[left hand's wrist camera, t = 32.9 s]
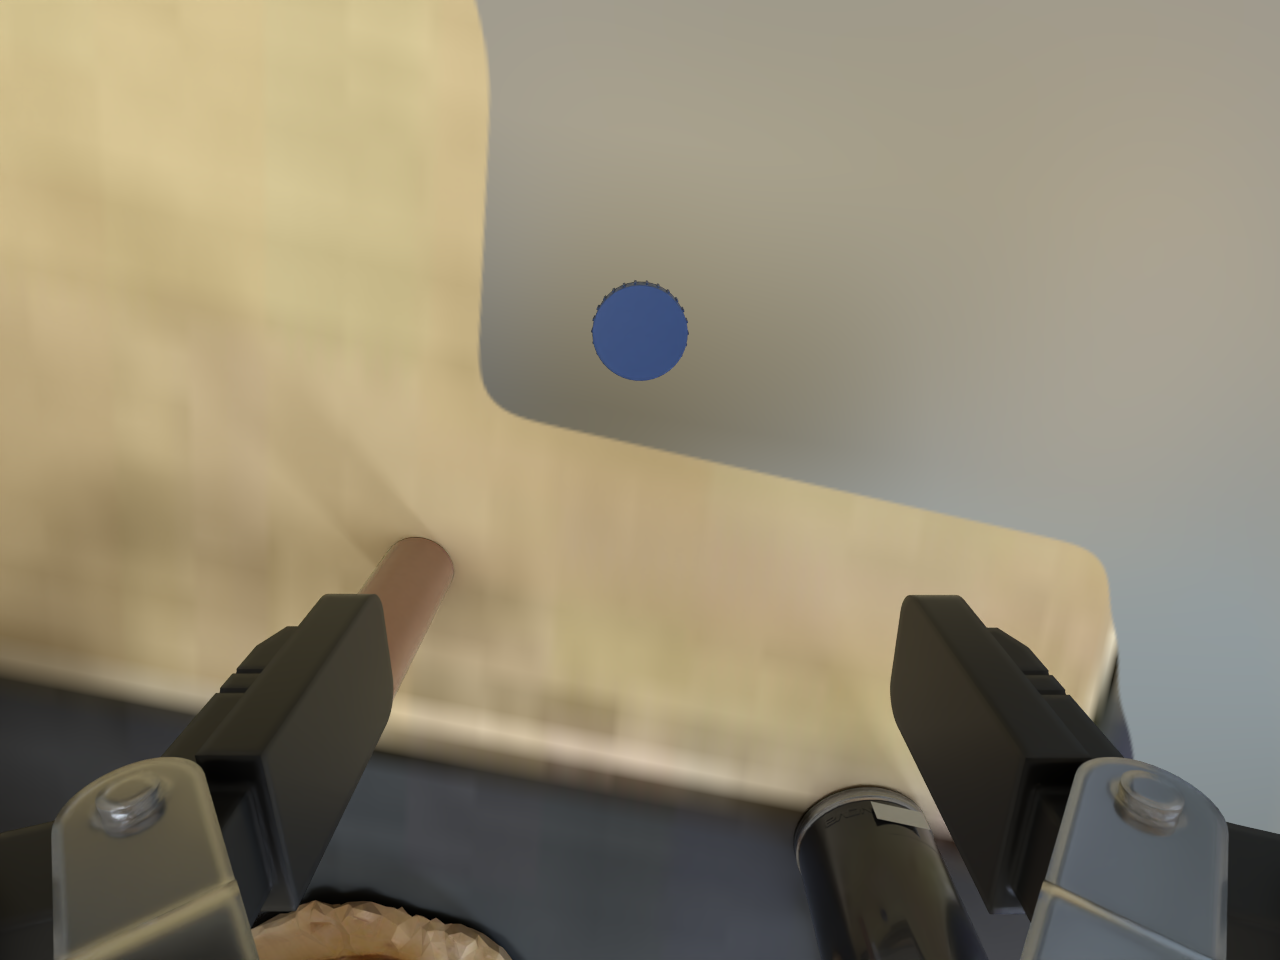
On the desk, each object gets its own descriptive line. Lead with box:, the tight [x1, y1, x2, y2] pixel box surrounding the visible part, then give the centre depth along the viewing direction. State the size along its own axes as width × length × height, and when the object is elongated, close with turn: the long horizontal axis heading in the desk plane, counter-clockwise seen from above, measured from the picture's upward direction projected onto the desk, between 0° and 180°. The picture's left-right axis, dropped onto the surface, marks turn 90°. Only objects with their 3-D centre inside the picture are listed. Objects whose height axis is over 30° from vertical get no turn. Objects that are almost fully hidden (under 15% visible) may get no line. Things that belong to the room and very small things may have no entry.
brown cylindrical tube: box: [358, 538, 454, 700], centre depth 36 cm, size 4×4×19 cm
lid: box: [591, 280, 689, 381], centre depth 39 cm, size 5×5×2 cm
